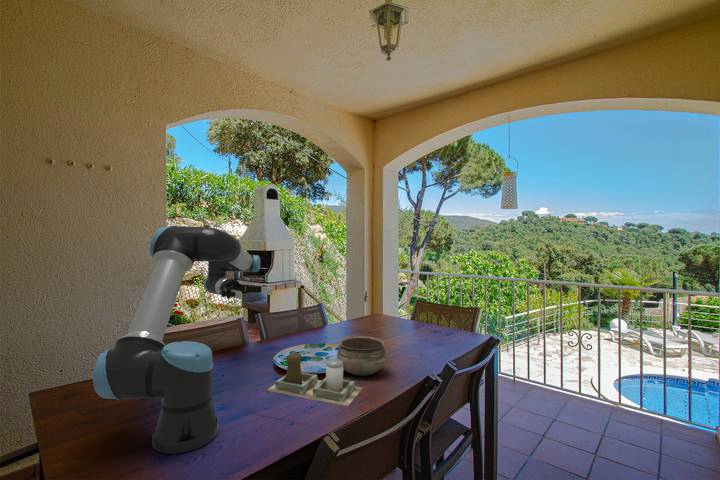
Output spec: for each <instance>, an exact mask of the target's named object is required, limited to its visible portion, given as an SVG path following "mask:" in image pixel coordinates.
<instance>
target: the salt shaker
mask: <svg viewBox="0 0 720 480" xmlns="http://www.w3.org/2000/svg"><path fill="white" fill-rule="evenodd" d="M325 367H326V370H325V378H326V389H327V390H333V391H338V392H341V391H342V390H343V379H344V369H343V361H342V360H340V359H337V358H331V359H330V358H329V359H328V360H327V361H326V365H325Z"/></svg>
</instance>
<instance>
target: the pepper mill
mask: <svg viewBox="0 0 720 480" xmlns="http://www.w3.org/2000/svg"><path fill="white" fill-rule="evenodd" d="M302 361H303V356H302V354H301V353H299V352H292V353H289V354H288V355H287V356H286V363H287V369H286V374H285V375H286V380H285V382H289V383H295V384H300V385H302V376H301V372H302V368H301V364H302Z"/></svg>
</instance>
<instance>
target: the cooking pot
mask: <svg viewBox="0 0 720 480" xmlns="http://www.w3.org/2000/svg"><path fill="white" fill-rule="evenodd" d="M338 343H339V344H338V350H337V353H336V359H340V360H342V361H343V371H345V372H346V373H348V374H349V375H353V376H356V377H367V376H372V375H373V374H375V373H377V372H379V371H380V370H381V369H382V368H384V366H385V364H386V362H388V359H387V352H386V349H385V347H384V346H385V340H382V339H381V338H378V337H374V336H367V335H354V336H347V337H344V338H342V339H340V340H339V342H338Z"/></svg>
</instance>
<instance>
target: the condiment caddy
mask: <svg viewBox="0 0 720 480" xmlns="http://www.w3.org/2000/svg"><path fill="white" fill-rule="evenodd" d="M301 376H302V385H300V384H295V383H289V382H285V380H286V374H285V375H283V376H282V377H281V378H279V379H277V380H275V382H274V384H273V385H272V386H270V387H268V388H267V389H266V390H265V394H266V395H267V394H268V393H269V392H273V393H278V394H283V395H287V396H291V397H292V396H293V397H298V398H303V399H307V400H313V401H318V402H323V403H326V404H327V403H328V404H333V405H337V406H343V407H347V408H348V407H349V405H350V404H351V403H352V402H353V401H354V400H355V398H356V397H357V396H358V395H359V393H360V392H361V391H362V389H363V387H360V386H356V381H355V380H349V379H344V378H343V390H342V391H341V392H338V391H333V390H327V389H326V377H324V379H322V380H320V379H318V374H314V373H309V372H308V373H307V372H302V371H301Z"/></svg>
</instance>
